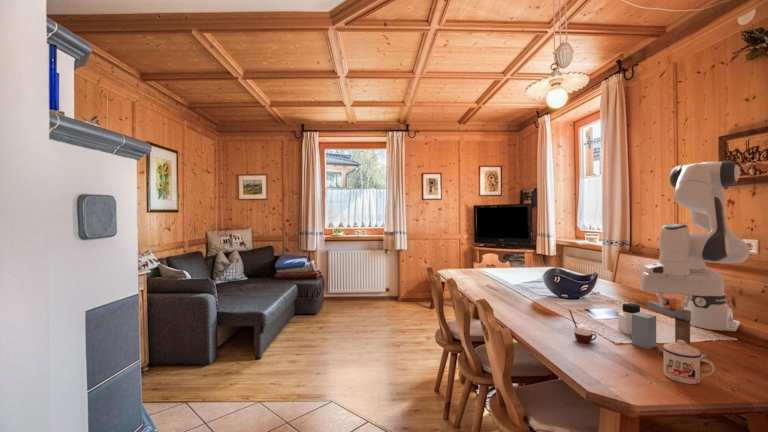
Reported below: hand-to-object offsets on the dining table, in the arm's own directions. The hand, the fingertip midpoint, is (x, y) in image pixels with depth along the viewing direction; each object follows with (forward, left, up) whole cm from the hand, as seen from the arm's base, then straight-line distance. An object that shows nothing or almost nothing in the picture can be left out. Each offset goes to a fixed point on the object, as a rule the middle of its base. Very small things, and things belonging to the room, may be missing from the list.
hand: (673, 305), depth 126 cm
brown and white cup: (+20, -22, -17) cm, 34 cm away
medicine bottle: (-7, -18, -17) cm, 26 cm away
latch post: (+4, +4, -17) cm, 18 cm away
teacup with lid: (+21, +12, -17) cm, 29 cm away
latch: (0, -2, -3) cm, 4 cm away
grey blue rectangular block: (+4, -8, -17) cm, 19 cm away
